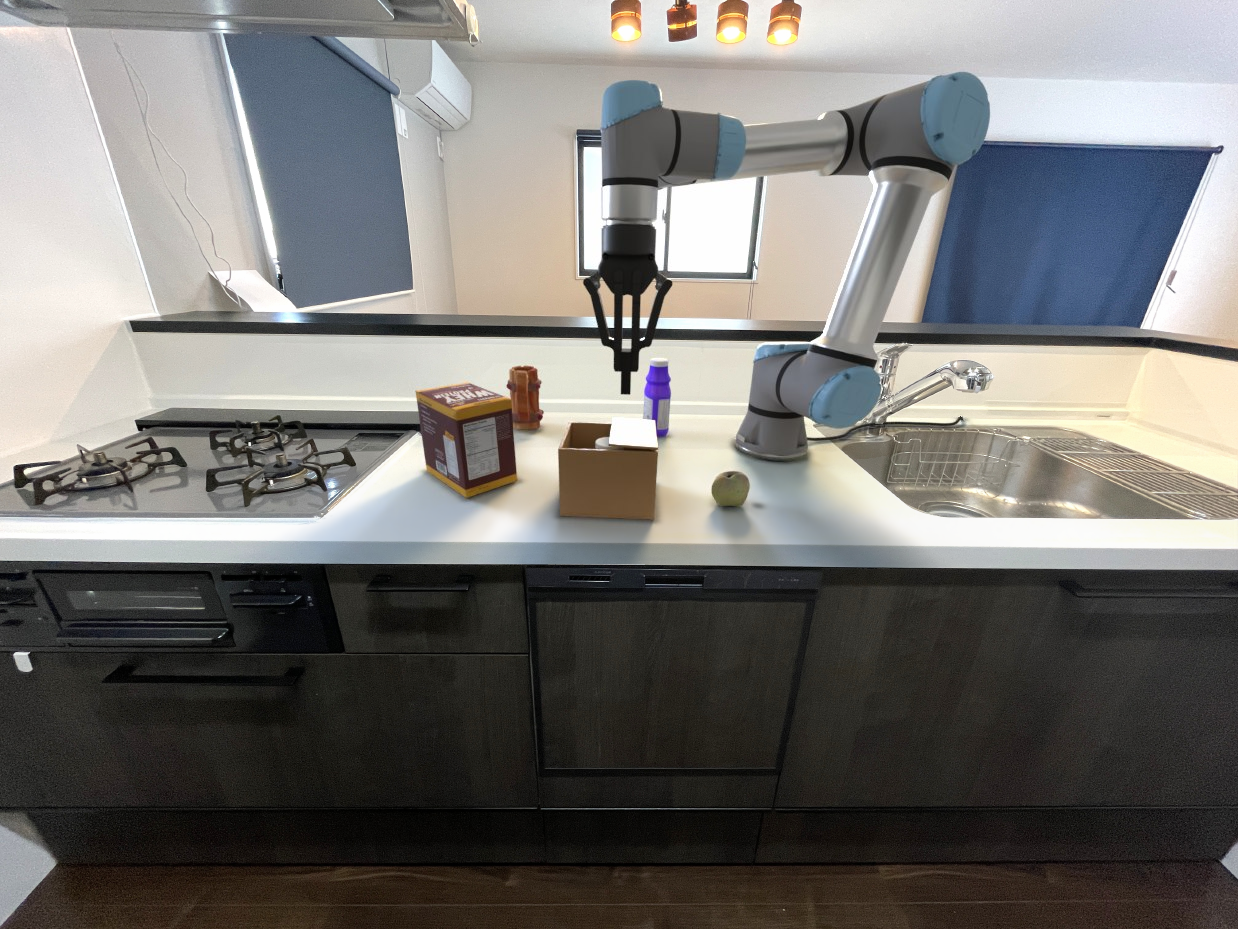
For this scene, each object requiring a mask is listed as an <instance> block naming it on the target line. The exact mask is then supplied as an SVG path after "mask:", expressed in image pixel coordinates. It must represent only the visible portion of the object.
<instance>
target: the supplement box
mask: <svg viewBox="0 0 1238 929" xmlns="http://www.w3.org/2000/svg"><path fill="white" fill-rule="evenodd" d="M414 391H415V398H416V405H417V412H418V418H419V426H420V434H421V442H422V446H423V456H424V461H425V462H424V463H425V468H426V472H427V473H429V474H430V475H432V476H433V477H435V478H436V479H438V480H439V481H441V482H442V483H444V484H445V485H446V486H448V487H449V488H451V489H452V490H454V491H455V492H457V493H458V494H460V495H461V496H462V497H464V498H467V499H468V498H470V497H474V496H476V495H480V494H482V493H485V492H488V491H491V490H494V489H497V488H500V487H503V486H506V485H509V484H513V483H514V482H518V472H517V461H516V460H517V458H516V446H515V445H516V444H515V431H514V430H515V429H514V428H513V416H512V402H511V398H510V397H508V396H505V395H502V394H500V393H496V392H493V391H491V390H489V389H486V388H483V387H481V386H478V385H476V384H474V383H471V382H467V381H466V382H461V383H455V384H450V385H443V386H438V387H431V388H425V389H417V390H414Z"/></svg>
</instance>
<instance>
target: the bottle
mask: <svg viewBox="0 0 1238 929" xmlns="http://www.w3.org/2000/svg"><path fill="white" fill-rule="evenodd" d="M645 381H646V383H645V386H644V390H643V393H644V394H643V412H642V419H644V420H655V424H656V434H657V438H664V437H666V436H667V435H668V433H669V429H670V428H669V426H670V411H671V396H672V389H671V385H670V382H671V381H672V378H671V376H670V373H669V359H668V358H666V357H651V358H649V369H648V373H647V375H646V376H645Z"/></svg>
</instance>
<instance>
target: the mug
mask: <svg viewBox="0 0 1238 929" xmlns="http://www.w3.org/2000/svg"><path fill="white" fill-rule="evenodd" d="M538 371H539V370H538V369H537V368H536V367H534V366H533V365H526V364H525V365H523V366H522V365H515V366H512V367H511V368H509V371H508V373H509V374H508V375H509V379H508V380H507V384H506V385H505V386H506V388H507V390H509V398H510V399H511V402H512V416H513V430H517V431H535V430H538V429H539V428H540V427H541V421H542V420H543V418H544V414H545V411H544V410H543V409H541V408H540V389H541V384H542V380H541V379H539V375H538V373H539V372H538Z"/></svg>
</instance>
